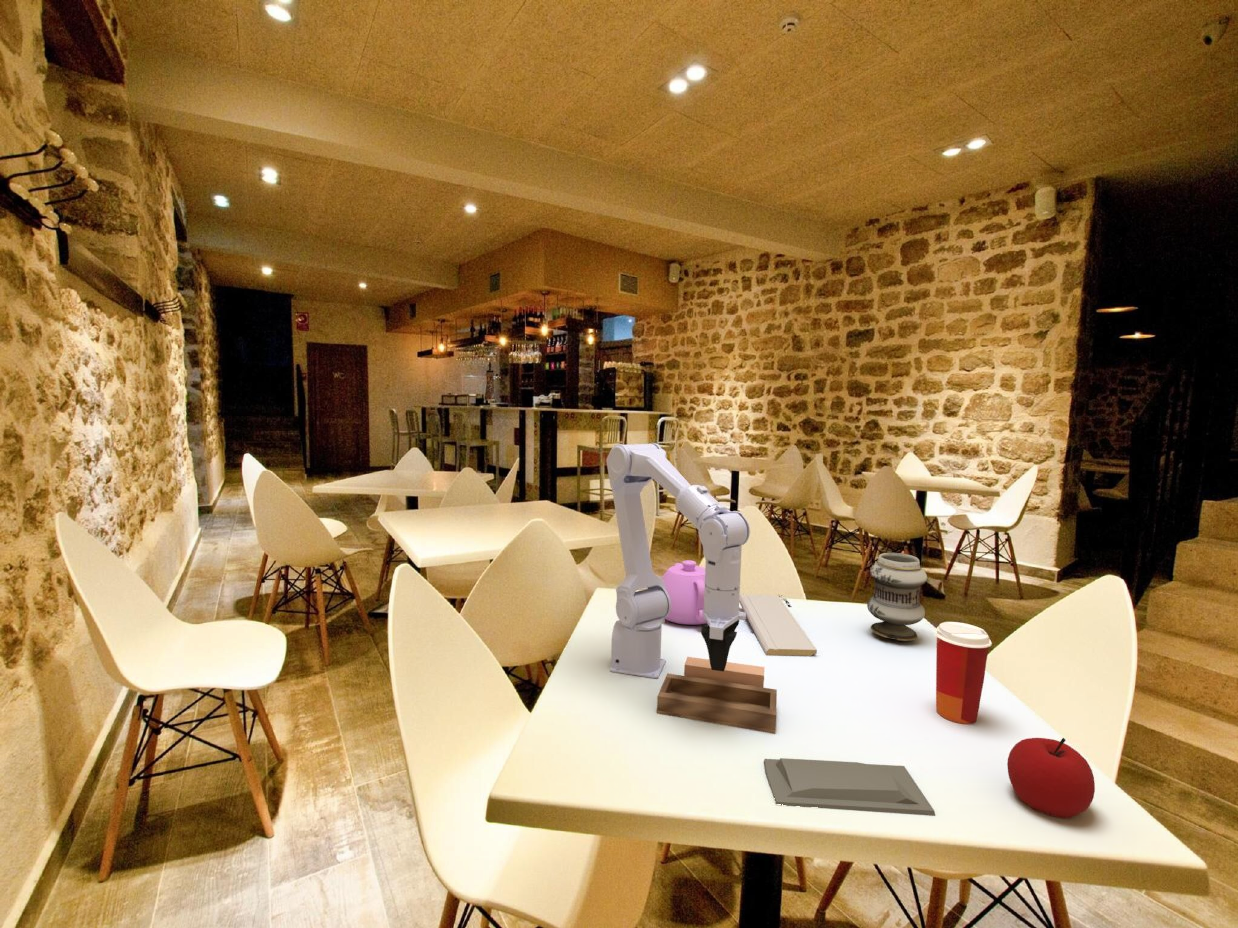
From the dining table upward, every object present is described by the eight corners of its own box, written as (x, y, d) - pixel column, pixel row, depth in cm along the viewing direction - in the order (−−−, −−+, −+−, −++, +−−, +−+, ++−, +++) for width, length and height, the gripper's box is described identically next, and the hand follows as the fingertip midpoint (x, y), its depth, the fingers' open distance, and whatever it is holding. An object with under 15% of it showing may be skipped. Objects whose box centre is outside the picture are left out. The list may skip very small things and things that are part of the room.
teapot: (757, 629, 133) (759, 571, 132) (668, 636, 128) (670, 576, 127) (719, 598, 154) (721, 548, 153) (642, 603, 149) (643, 551, 148)
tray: (656, 716, 95) (657, 696, 94) (667, 691, 103) (667, 672, 103) (775, 736, 89) (776, 715, 89) (775, 708, 98) (776, 688, 98)
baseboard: (824, 649, 119) (766, 648, 119) (823, 662, 119) (765, 661, 119) (783, 594, 149) (737, 593, 150) (782, 605, 150) (737, 603, 150)
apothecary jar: (866, 637, 130) (871, 559, 128) (865, 619, 141) (870, 548, 139) (925, 646, 125) (932, 566, 123) (920, 627, 136) (925, 553, 134)
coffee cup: (977, 707, 100) (984, 624, 98) (990, 732, 92) (998, 642, 90) (923, 698, 102) (930, 617, 101) (932, 721, 95) (939, 634, 93)
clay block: (683, 690, 104) (684, 664, 103) (686, 682, 107) (687, 656, 107) (762, 702, 100) (764, 675, 100) (763, 693, 104) (764, 666, 103)
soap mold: (938, 829, 71) (940, 803, 71) (775, 820, 72) (777, 794, 72) (902, 776, 81) (904, 753, 81) (760, 768, 82) (761, 746, 82)
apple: (1046, 781, 80) (1053, 713, 79) (1111, 828, 71) (1120, 752, 70) (988, 787, 78) (994, 718, 77) (1047, 835, 70) (1055, 758, 69)
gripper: (744, 602, 86) (740, 688, 87) (749, 575, 100) (746, 650, 101) (697, 597, 88) (694, 681, 89) (709, 571, 102) (706, 644, 103)
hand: (719, 664), depth 95 cm, fingers open, 3 cm apart
